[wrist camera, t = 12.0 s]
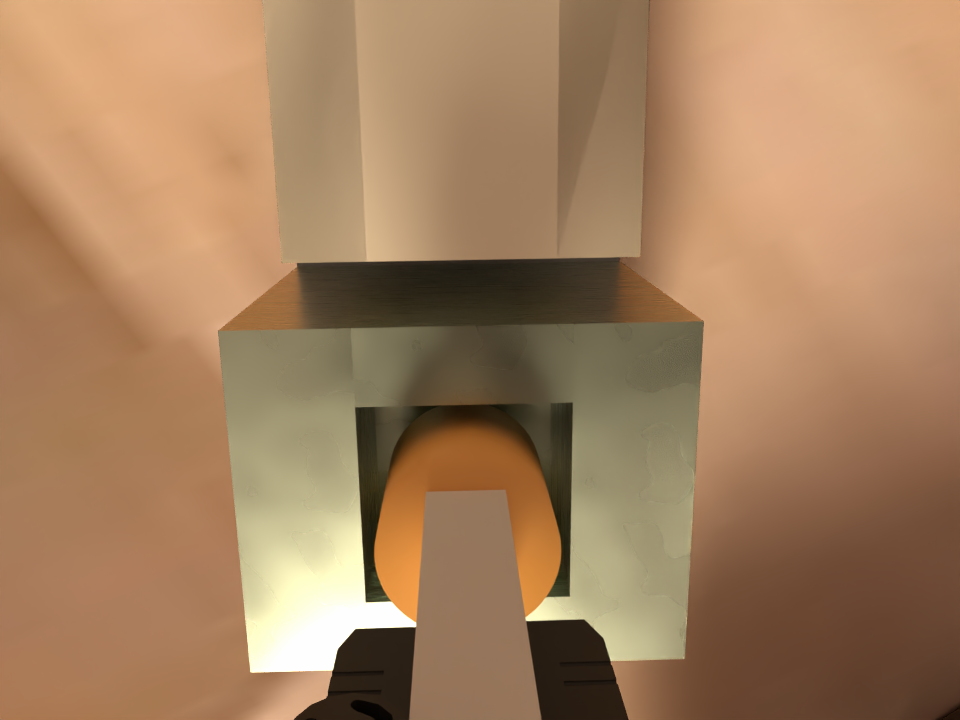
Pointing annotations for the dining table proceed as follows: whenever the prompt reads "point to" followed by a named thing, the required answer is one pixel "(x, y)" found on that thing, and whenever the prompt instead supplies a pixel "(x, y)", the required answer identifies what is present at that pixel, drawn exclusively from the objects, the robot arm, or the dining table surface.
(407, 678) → the robot arm
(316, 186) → the block
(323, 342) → the green square holder
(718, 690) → the dining table surface
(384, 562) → the orange rounded piece
